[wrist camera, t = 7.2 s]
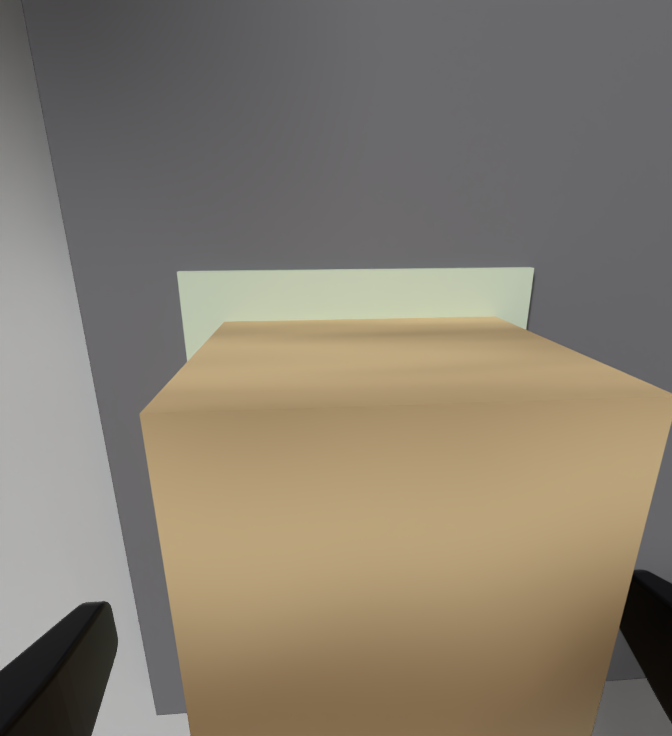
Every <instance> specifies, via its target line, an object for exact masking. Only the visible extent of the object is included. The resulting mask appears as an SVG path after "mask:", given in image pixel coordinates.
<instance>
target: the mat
mask: <svg viewBox="0 0 672 736" xmlns="http://www.w3.org/2000/svg"><path fill="white" fill-rule="evenodd" d="M21 1H22V7H23V12H24V17H25V23H26V28H27V33H28V38H29V44H30V49H31V54H32V59H33V65H34V70H35V75H36V81H37V86H38V91H39V96H40V102H41V107H42V112H43V118H44V123H45V128H46V133H47V139H48V144H49V149H50V155H51V160H52V165H53V170H54V176H55V181H56V186H57V191H58V197H59V202H60V207H61V213H62V218H63V223H64V228H65V234H66V239H67V244H68V250H69V255H70V260H71V265H72V271H73V276H74V281H75V287H76V292H77V297H78V302H79V308H80V313H81V318H82V323H83V329H84V334H85V339H86V345H87V350H88V355H89V360H90V366H91V371H92V376H93V382H94V387H95V392H96V397H97V403H98V408H99V413H100V419H101V424H102V429H103V434H104V440H105V445H106V450H107V455H108V461H109V466H110V471H111V477H112V482H113V487H114V492H115V498H116V503H117V508H118V514H119V519H120V524H121V529H122V535H123V540H124V545H125V551H126V556H127V561H128V566H129V572H130V577H131V582H132V587H133V593H134V598H135V603H136V609H137V614H138V619H139V624H140V630H141V635H142V640H143V646H144V651H145V656H146V661H147V667H148V672H149V677H150V683H151V688H152V693H153V698H154V704H155V709H156V714H157V715H167V714H180V713H187V709H186V703H185V696H184V690H183V684H182V678H181V671H180V665H179V659H178V653H177V646H176V640H175V634H174V627H173V621H172V615H171V609H170V602H169V596H168V590H167V584H166V577H165V571H164V565H163V559H162V552H161V546H160V540H159V533H158V527H157V521H156V515H155V508H154V502H153V496H152V490H151V483H150V477H149V471H148V464H147V458H146V452H145V446H144V439H143V433H142V427H141V421H140V412H141V411H142V410H143V409H144V408H145V407H146V406H147V405H148V404H149V403H150V402H151V401H152V399H153V398H154V397H155V396H156V395H157V394H158V393H159V392H160V391H161V390H162V389H163V388H164V386H165V385H166V384H167V383H168V382H169V381H170V380H171V379H172V378H173V377H174V376H175V375H176V373H177V372H178V371H179V370H180V369H181V368H182V367H183V366H184V365H185V364H186V363H187V362H188V360H189V359H190V358H191V357H192V356H193V355H194V354H195V353H196V352H197V351H198V350H199V349H200V347H201V346H202V345H203V344H204V343H205V342H206V341H207V340H208V339H209V338H210V337H211V336H212V334H213V333H214V332H215V331H216V330H217V329H218V328H219V327H220V326H221V325H222V324H223V323H224V322H234V321H285V320H336V319H387V318H438V317H489V316H496V317H498V318H500V319H502V320H505V321H507V322H509V323H512V324H514V325H516V326H519V327H521V328H523V329H525V330H528V331H530V332H532V333H535V334H537V335H539V336H541V337H544V338H546V339H548V340H551V341H553V342H555V343H558V344H560V345H562V346H564V347H567V348H569V349H571V350H574V351H576V352H578V353H580V354H583V355H585V356H587V357H590V358H592V359H594V360H596V361H599V362H601V363H603V364H606V365H608V366H610V367H613V368H615V369H617V370H619V371H622V372H624V373H626V374H629V375H631V376H633V377H635V378H638V379H640V380H642V381H645V382H647V383H649V384H652V385H654V386H656V387H658V388H661V389H663V390H665V391H668V392H670V393H672V0H21ZM638 569H642V570H647V571H650V572H651V573H653V574H655V575H657V576H659V577H661V578H663V579H664V580H666V581H668V582H670V583H672V422H671V426H670V430H669V434H668V437H667V441H666V445H665V449H664V453H663V457H662V461H661V465H660V469H659V473H658V477H657V481H656V484H655V488H654V492H653V496H652V500H651V504H650V508H649V512H648V516H647V520H646V524H645V528H644V532H643V535H642V539H641V543H640V547H639V551H638V555H637V559H636V563H635V567H634V570H638ZM640 678H646V677H645V675H644V673H643V671H642V670H641V668H640V666H639V664H638V662H637V660H636V659H635V657H634V655H633V653H632V651H631V649H630V647H629V646H628V644H627V642H626V640H625V638H624V636H623V635H622V633H621V631H620V629H619V630H618V634H617V637H616V641H615V645H614V649H613V653H612V657H611V661H610V665H609V669H608V673H607V677H606V681H614V680H627V679H640Z"/></svg>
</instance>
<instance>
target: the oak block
mask: <svg viewBox="0 0 672 736" xmlns="http://www.w3.org/2000/svg"><path fill="white" fill-rule="evenodd" d="M140 421H141V427H142V433H143V439H144V446H145V452H146V458H147V464H148V471H149V477H150V483H151V490H152V496H153V502H154V508H155V515H156V521H157V527H158V533H159V540H160V546H161V552H162V559H163V565H164V571H165V577H166V584H167V590H168V596H169V602H170V609H171V615H172V621H173V627H174V634H175V640H176V646H177V653H178V659H179V665H180V671H181V678H182V684H183V690H184V696H185V703H186V709H187V715H188V722H189V728H190V734H191V736H591V735H592V732H593V728H594V724H595V720H596V716H597V712H598V708H599V704H600V700H601V696H602V692H603V688H604V684H605V681H606V677H607V673H608V669H609V665H610V661H611V657H612V653H613V649H614V645H615V641H616V637H617V634H618V630H619V626H620V622H621V618H622V614H623V610H624V606H625V602H626V598H627V594H628V590H629V586H630V583H631V579H632V575H633V571H634V567H635V563H636V559H637V555H638V551H639V547H640V543H641V539H642V535H643V532H644V528H645V524H646V520H647V516H648V512H649V508H650V504H651V500H652V496H653V492H654V488H655V484H656V481H657V477H658V473H659V469H660V465H661V461H662V457H663V453H664V449H665V445H666V441H667V437H668V434H669V430H670V426H671V422H672V393H670V392H668V391H665V390H663V389H661V388H658V387H656V386H654V385H652V384H649V383H647V382H645V381H642V380H640V379H638V378H635V377H633V376H631V375H629V374H626V373H624V372H622V371H619V370H617V369H615V368H613V367H610V366H608V365H606V364H603V363H601V362H599V361H596V360H594V359H592V358H590V357H587V356H585V355H583V354H580V353H578V352H576V351H574V350H571V349H569V348H567V347H564V346H562V345H560V344H558V343H555V342H553V341H551V340H548V339H546V338H544V337H541V336H539V335H537V334H535V333H532V332H530V331H528V330H525V329H523V328H521V327H519V326H516V325H514V324H512V323H509V322H507V321H505V320H502V319H500V318H498V317H496V316H489V317H438V318H387V319H336V320H285V321H234V322H224V323H223V324H222V325H221V326H220V327H219V328H218V329H217V330H216V331H215V332H214V333H213V334H212V336H211V337H210V338H209V339H208V340H207V341H206V342H205V343H204V344H203V345H202V346H201V347H200V349H199V350H198V351H197V352H196V353H195V354H194V355H193V356H192V357H191V358H190V359H189V360H188V362H187V363H186V364H185V365H184V366H183V367H182V368H181V369H180V370H179V371H178V372H177V373H176V375H175V376H174V377H173V378H172V379H171V380H170V381H169V382H168V383H167V384H166V385H165V386H164V388H163V389H162V390H161V391H160V392H159V393H158V394H157V395H156V396H155V397H154V398H153V399H152V401H151V402H150V403H149V404H148V405H147V406H146V407H145V408H144V409H143V410H142V411H141V412H140Z"/></svg>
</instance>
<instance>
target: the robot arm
mask: <svg viewBox="0 0 672 736" xmlns="http://www.w3.org/2000/svg"><path fill="white" fill-rule="evenodd" d="M619 629H620V631H621V633H622V635H623V636H624V638H625V640H626V642H627V644H628V646H629V647H630V649H631V651H632V653H633V655H634V657H635V659H636V660H637V662H638V664H639V666H640V668H641V670H642V671H643V673H644V675H645V677H646V679H647V681H648V682H649V684H650V686H651V688H652V690H653V692H654V693H655V695H656V697H657V699H658V701H659V702H660V704H661V706H662V708H663V709H664V711H665V713H666V715H667V716H668V718H669V720H670V721H671V723H672V583H670V582H668V581H666V580H664V579H663V578H661V577H659V576H657V575H655V574H653V573H651V572H650V571H647V570H642V569H638V570H634V571H633V575H632V579H631V583H630V586H629V590H628V594H627V598H626V602H625V606H624V610H623V614H622V618H621V622H620V626H619ZM117 646H118V636H117V631H116V627H115V622H114V617H113V613H112V608H111V605H110V604H109V603H108V602H105V601H102V602H86V603H83V604H81V605H79V606H78V607H76V608H75V609H74V610H73V611H72V612H70V613H69V614H68V615H67V616H66V617H64V618H63V619H62V620H61V621H60V622H58V623H57V624H56V625H55V626H54V627H52V628H51V629H50V630H49V631H48V632H46V633H45V634H44V635H43V636H42V637H40V638H39V639H38V640H37V641H36V642H34V643H33V644H32V645H31V646H30V647H28V648H27V649H26V650H25V651H24V652H22V653H21V654H20V655H19V656H18V657H16V658H15V659H14V660H13V661H12V662H10V663H9V664H8V665H7V666H6V667H4V668H3V669H2V670H1V671H0V736H91V735H92V732H93V729H94V725H95V722H96V719H97V716H98V712H99V709H100V706H101V702H102V699H103V696H104V692H105V689H106V686H107V682H108V679H109V676H110V672H111V669H112V666H113V663H114V659H115V656H116V652H117Z"/></svg>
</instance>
